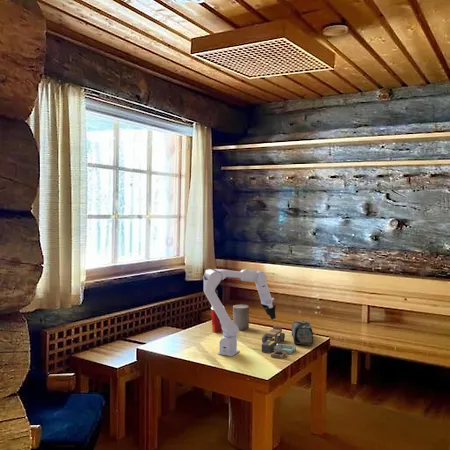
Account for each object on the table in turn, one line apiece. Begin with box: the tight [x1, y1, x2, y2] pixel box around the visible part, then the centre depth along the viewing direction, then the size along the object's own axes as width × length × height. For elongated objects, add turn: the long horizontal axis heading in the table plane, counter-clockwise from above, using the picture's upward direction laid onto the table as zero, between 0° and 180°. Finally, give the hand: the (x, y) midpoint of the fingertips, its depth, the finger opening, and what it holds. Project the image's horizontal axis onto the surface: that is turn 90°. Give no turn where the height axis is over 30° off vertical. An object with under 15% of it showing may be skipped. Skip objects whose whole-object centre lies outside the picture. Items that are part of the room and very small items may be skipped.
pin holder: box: [270, 350, 287, 360], centre depth 247 cm, size 6×6×2 cm
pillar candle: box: [232, 303, 250, 331], centre depth 299 cm, size 10×10×15 cm
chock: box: [261, 340, 276, 354], centre depth 256 cm, size 7×4×5 cm, turn 153°
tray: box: [274, 343, 297, 356], centre depth 256 cm, size 9×9×2 cm
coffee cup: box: [210, 305, 226, 334], centre depth 291 cm, size 8×8×15 cm
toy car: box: [291, 320, 314, 346], centre depth 276 cm, size 11×25×10 cm, turn 176°
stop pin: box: [275, 343, 282, 355], centre depth 247 cm, size 2×2×6 cm
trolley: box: [261, 325, 286, 346], centre depth 272 cm, size 12×9×7 cm
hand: (271, 316), depth 259 cm, fingers open, 7 cm apart
